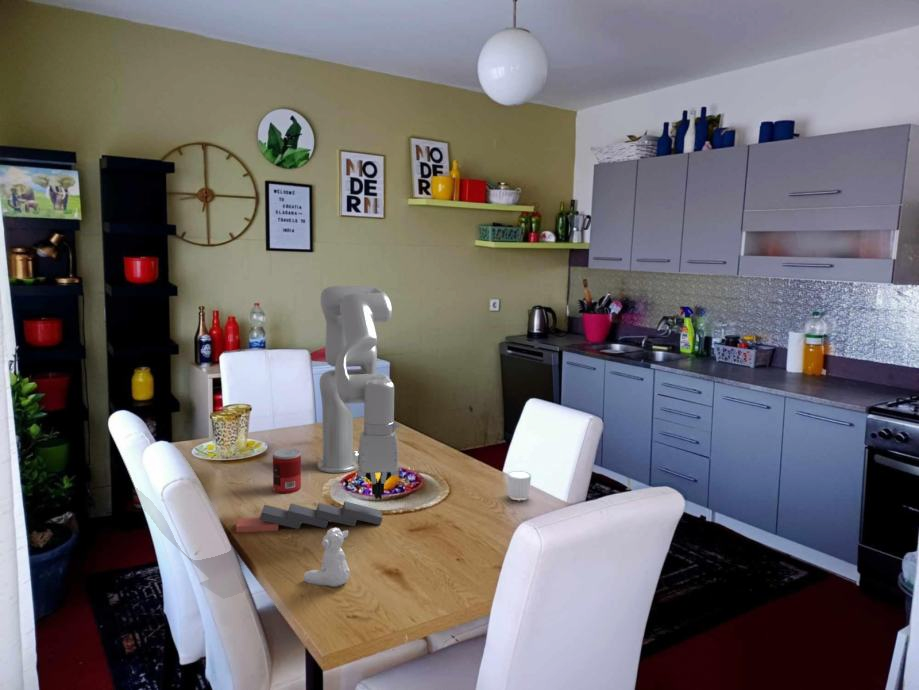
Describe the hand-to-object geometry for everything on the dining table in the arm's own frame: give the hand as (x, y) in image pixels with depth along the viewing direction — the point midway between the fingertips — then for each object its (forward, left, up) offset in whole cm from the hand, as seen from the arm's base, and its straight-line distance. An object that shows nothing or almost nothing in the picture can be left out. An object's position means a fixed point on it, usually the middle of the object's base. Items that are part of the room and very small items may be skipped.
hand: (377, 496), depth 173 cm
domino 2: (+11, -6, -6) cm, 14 cm away
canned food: (+7, -35, -7) cm, 36 cm away
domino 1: (+17, -10, -6) cm, 20 cm away
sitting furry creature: (+25, +19, -7) cm, 33 cm away
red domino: (+21, -13, -6) cm, 26 cm away
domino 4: (-1, 0, -6) cm, 6 cm away
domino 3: (+5, -3, -6) cm, 8 cm away
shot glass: (-42, +11, -7) cm, 44 cm away
